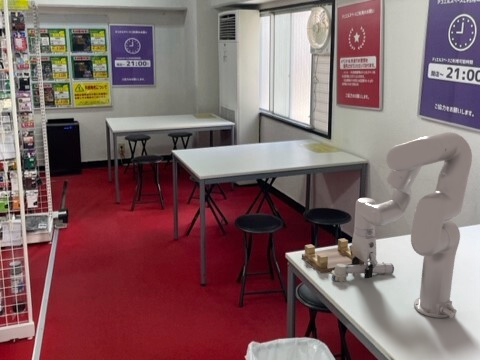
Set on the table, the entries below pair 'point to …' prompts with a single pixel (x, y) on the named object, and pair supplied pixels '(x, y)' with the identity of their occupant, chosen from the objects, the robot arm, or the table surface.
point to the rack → (329, 256)
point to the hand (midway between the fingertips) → (361, 272)
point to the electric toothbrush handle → (359, 270)
